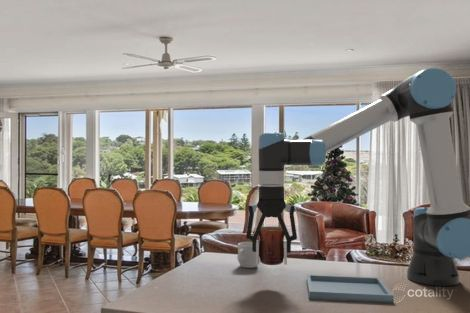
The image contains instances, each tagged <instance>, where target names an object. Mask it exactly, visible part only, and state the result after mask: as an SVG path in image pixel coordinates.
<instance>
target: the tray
mask: <svg viewBox="0 0 470 313" xmlns="http://www.w3.org/2000/svg"><path fill="white" fill-rule="evenodd" d="M306 286H307V292H308V298H309V300H323V301H325V300H326V301H327V300H328V301H345V302H362V303H363V302H364V303H365V302H367V303H387V304H395V303H394V300H395V299H394V297H395V296H394V294H393V293H392V292H391V290H390V289H389V287H387V285H386V284H385V283H384V281H383V280H382V279H381V278H380V277H373V276H372V277H371V276H370V277H369V276H351V275H350V276H349V275H331V274H330V275H326V274H324V275H323V274H306Z"/></svg>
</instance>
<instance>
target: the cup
mask: <svg viewBox="0 0 470 313" xmlns="http://www.w3.org/2000/svg"><path fill="white" fill-rule="evenodd" d="M236 257H237V262H238V264H239V266H240V267H241V268H245V269H254V268H256V267H258V265H259V264H256V252H253V250H252V241H242V242H238V243H237V256H236Z"/></svg>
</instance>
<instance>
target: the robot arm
mask: <svg viewBox="0 0 470 313" xmlns="http://www.w3.org/2000/svg"><path fill="white" fill-rule="evenodd" d="M456 92H457V84H456V82H455V79H454V78H453V77H452V75H451V74H450V73H449V72H447V71H445V70H444V69H441V68H438V67H430V68H424V69H422V70H419V71H417V72H416V73H414V74H413V75H411V76H408V77H407V78H405V79H404V80H402V81H401V82H400V83H399V84H397V85H396V86H394V87H392V88H391V89H390V90H389V91H386V92H384V93H383V94H381V95H380V97H379V99H378V100H376V101H374V102H372V103H371V104H368V105H366V106H365V107H362V108H360V109H358V110H357V111H355V112H352V113H351V114H349V115H347V116H345V117H343V118H341V119H339V120H338V121H335V122H333V123H332V124H329V125H328V126H326V127H324V128H322V129H320V130H318V131H316V132H315V133H313V134H310V135H309V136H307V137H305V138H303V139H286V138H285V134H284V133H282V132H263V133H261V134H260V135H259V138H258V184H259V187H258V202H257V203H256V204H249V205H248V207H247V210H248V213H249V214H248V221H247V222H248V223H247V229H246V235H245V237H246V238H245V239H247V240H250V241H251V242H252V250H253V252H256V264H258V265H259V264H260V257H259V243H260V241H259V239H258V238H259V235H258V234H259V232H260V229H261V227H263V225H264V222H265V219H266V218H277V220H278V222H279V225H280V227H281V228H282V230H283V233H284V235H285V236H284V238H285V240H284V260H283V264H284V266H286V265H287V266H288V255H287V254H290V253H291V252H292V250H291V249H292V246H291V242H292V241H295V240H297V239H298V236H297V229H296V228H297V226H296V222H295V210H296V207H295V205H293V204H291V205H290V204H287V203H286V201H285V187H284V186H283V185H285V166H312V167H313V166H322V165H324V164H325V163H326V160H327V159H326V158H327V153H330V152H332V151H334V150H335V149H338V148H339V147H342V146H343V145H346V144H347V143H349V142H351V141H353V140H355V139H357V138H359V137H361V136H363V135H365V134H367V133H369V132H371V131H373V130H375V129H378V127H381V126H383V125H385V124H387V123H389V122H397V121H400V120H402V119H404V118H407V117H409V120H410V121H411V122H412V123H413V124H415V125H416V129H417V135H418V140H419V146H420V152H421V157H422V164H423V168H424V175H425V181H426V187H427V192H428V198H429V203H430V204H429V205H430V206H429V207H416V208H415V209H414V211H413V216H412V220H413V221H412V222H413V227H412V229H413V233H412V236H413V238H412V240H413V241H412V246H413V247H412V248H413V249H412V251H413V252H412V256H411V259H410V262H409V264H408V268H407V271H406V278H407V279H408V280H410V281H411V282H413V283H414V282H415V283H417V284H418V283H419V284H422V285H423V284H424V285H428V286H433V287H435V286H437V287H453V286H457V285H459V284H460V274H459V272H458V268H457V265H456V262H455V260H454V259H457V260H462V259H466V258H470V206H469V205H468V204H466V203H465V202H464V199H463V194H462V188H461V182H460V178H459V172H458V166H457V165H458V164H457V160H456V153H455V149H454V142H453V137H452V132H451V126H450V118H451V116H453V114H454V107H453V102H452V101H453V100H454V98H455V96H456V94H457V93H456ZM257 209H258V210H259V211H260V212H261V216H260V218H259V220H258V223H257V227H256V228H255V231H254V233H253V234H252V231H253V230H252V229H253V224H254V223H253V222H254V216H255V212H256V211H257ZM285 209H286V211H287V213H289V214H288V215H289V220H290V228H291V234H292V235H290V233H289V230H288V228H287V225H286V223H285V220H284V217H283V215H282V213H283V212H284V211H285Z"/></svg>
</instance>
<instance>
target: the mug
mask: <svg viewBox="0 0 470 313" xmlns="http://www.w3.org/2000/svg"><path fill="white" fill-rule="evenodd" d="M258 240H259V263H260V264H263V265H266V266H267V265H268V266H277V265H282V263H284V241H285V235H284V233H283V230H282V228H281V226H275V225H274V226H273V225H272V226H271V225H268V226H265V225H264V226H262V227H261V229H260V232H259V234H258Z"/></svg>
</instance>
